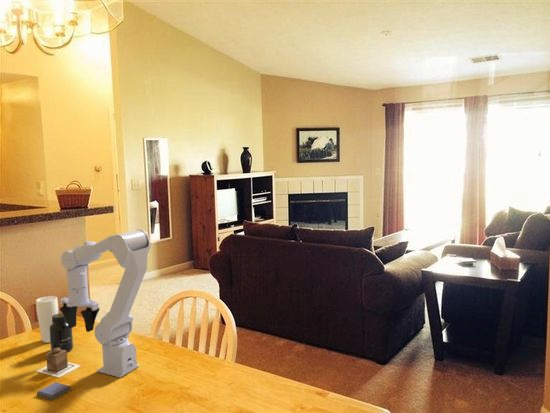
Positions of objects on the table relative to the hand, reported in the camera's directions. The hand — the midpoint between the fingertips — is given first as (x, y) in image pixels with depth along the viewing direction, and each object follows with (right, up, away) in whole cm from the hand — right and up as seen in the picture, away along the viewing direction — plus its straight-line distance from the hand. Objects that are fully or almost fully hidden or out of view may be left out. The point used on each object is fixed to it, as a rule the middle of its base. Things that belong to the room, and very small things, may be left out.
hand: (81, 328), depth 146 cm
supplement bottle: (-10, -9, +8) cm, 16 cm away
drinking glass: (-18, -9, +17) cm, 26 cm away
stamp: (-5, -11, -6) cm, 13 cm away
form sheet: (-5, -11, -5) cm, 13 cm away
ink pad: (+1, -12, -19) cm, 23 cm away
